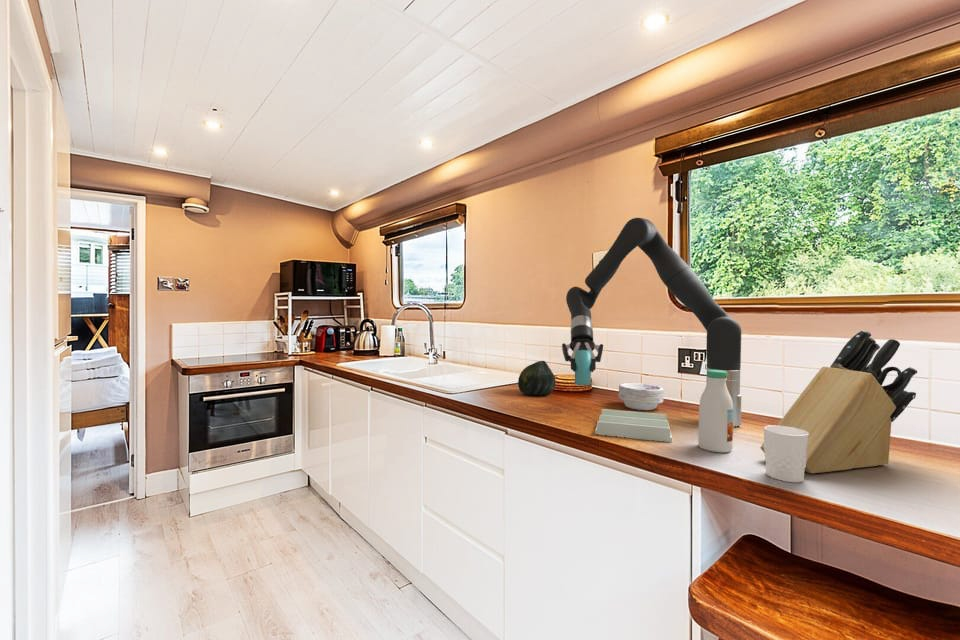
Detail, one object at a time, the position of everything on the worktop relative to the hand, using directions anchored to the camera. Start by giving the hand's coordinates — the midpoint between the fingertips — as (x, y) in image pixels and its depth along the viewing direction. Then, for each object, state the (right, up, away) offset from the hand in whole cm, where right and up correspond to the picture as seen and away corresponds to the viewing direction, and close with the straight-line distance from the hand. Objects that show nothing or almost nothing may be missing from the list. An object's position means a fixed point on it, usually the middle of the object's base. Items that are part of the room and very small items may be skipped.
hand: (583, 370), depth 143 cm
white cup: (+32, -17, -49) cm, 61 cm away
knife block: (+51, -17, -39) cm, 67 cm away
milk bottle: (+27, -17, -30) cm, 43 cm away
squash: (-10, -15, +39) cm, 43 cm away
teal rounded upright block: (0, -5, +2) cm, 5 cm away
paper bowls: (+25, -16, +17) cm, 34 cm away
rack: (+11, -16, -14) cm, 24 cm away
